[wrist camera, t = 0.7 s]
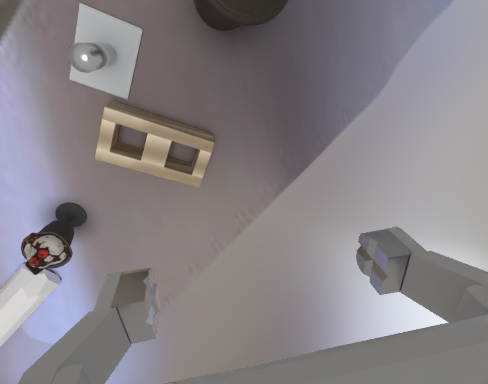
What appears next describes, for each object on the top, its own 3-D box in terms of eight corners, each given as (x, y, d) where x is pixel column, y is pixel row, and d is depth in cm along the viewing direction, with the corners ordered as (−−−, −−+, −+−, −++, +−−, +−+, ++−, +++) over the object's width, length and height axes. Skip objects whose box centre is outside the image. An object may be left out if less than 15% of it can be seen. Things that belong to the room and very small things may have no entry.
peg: (95, 39, 39) (69, 38, 31) (118, 48, 40) (99, 49, 32) (92, 61, 41) (66, 66, 32) (114, 69, 42) (95, 76, 33)
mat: (80, 3, 38) (79, 2, 37) (143, 29, 40) (142, 29, 40) (70, 79, 41) (69, 79, 41) (127, 98, 44) (127, 99, 44)
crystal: (9, 263, 49) (-58, 341, 54) (36, 294, 49) (-35, 370, 54) (47, 249, 56) (-16, 320, 62) (70, 277, 56) (5, 345, 61)
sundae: (79, 193, 50) (40, 247, 36) (98, 224, 53) (68, 284, 40) (42, 204, 49) (-11, 262, 36) (63, 234, 53) (21, 298, 39)
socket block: (112, 100, 44) (104, 107, 39) (212, 133, 49) (214, 142, 44) (103, 148, 47) (94, 159, 42) (198, 175, 52) (199, 187, 47)
